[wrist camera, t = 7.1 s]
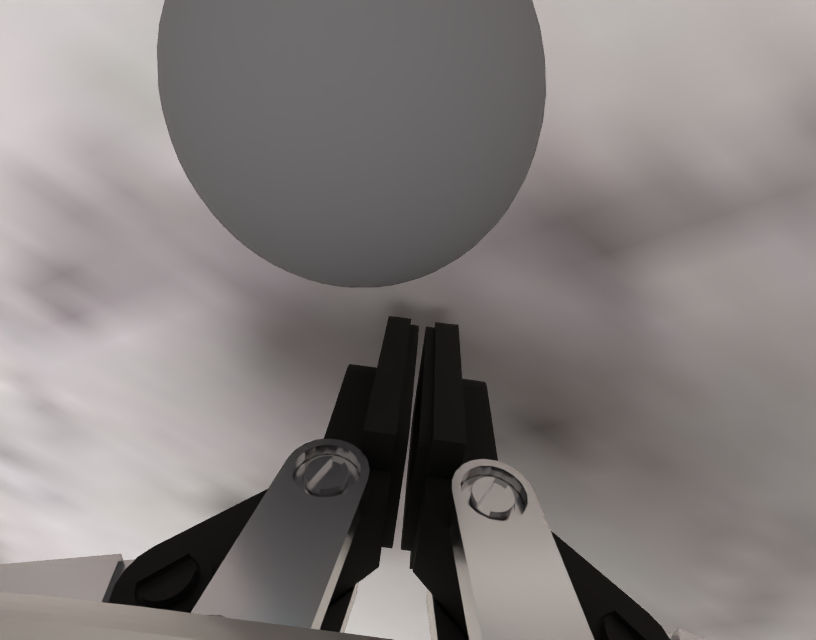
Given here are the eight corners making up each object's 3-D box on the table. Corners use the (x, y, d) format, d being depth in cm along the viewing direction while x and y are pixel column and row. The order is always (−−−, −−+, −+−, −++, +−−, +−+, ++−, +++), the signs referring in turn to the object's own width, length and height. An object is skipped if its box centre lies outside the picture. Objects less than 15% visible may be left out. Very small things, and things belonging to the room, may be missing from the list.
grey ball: (542, -265, 2) (563, -200, 6) (-96, -58, 4) (224, -106, 8) (529, 376, 6) (546, 178, 10) (205, 346, 8) (323, 186, 12)
